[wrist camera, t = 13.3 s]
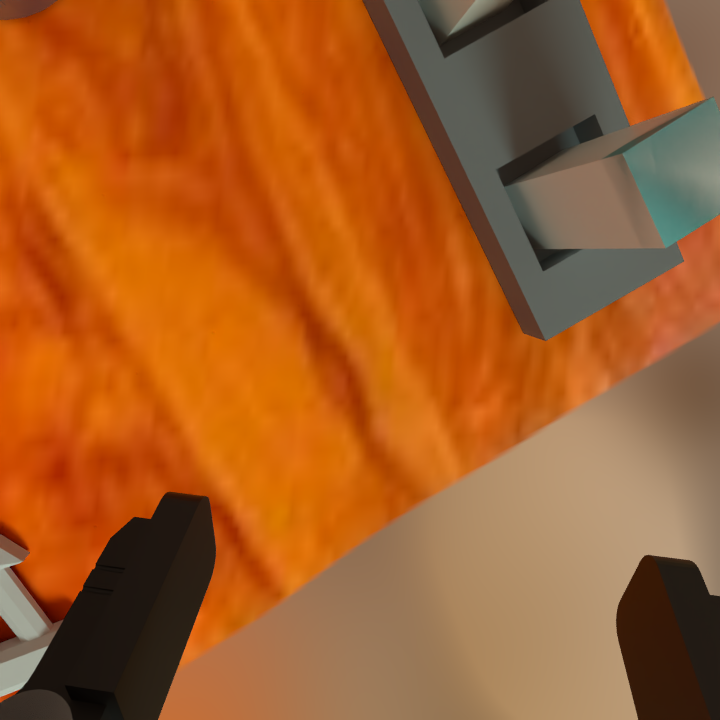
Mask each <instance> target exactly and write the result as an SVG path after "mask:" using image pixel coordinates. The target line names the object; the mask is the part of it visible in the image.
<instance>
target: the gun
mask: <svg viewBox="0 0 720 720" xmlns="http://www.w3.org/2000/svg"><path fill="white" fill-rule="evenodd" d="M29 553H30V552H28V551H27V550H25V549H24V548H22V547H20V546H19V545H17V544H16V543H14V542H12V541H11V540H9V539H8V538H6V537H4V536H3V535H1V534H0V616H1V617H2V618H3V619H4V621H5V622H6V623H7V624H8V625H9V627H10V628H11V629H12V630H13V632H14V633H15V634H16V635H17V637H15V638H12V639H9V640H7V641H4V642H1V643H0V697H1V696H3V695H6V694H8V693H11V692H14V691H16V690H19V689H21V688H22V687H23V686H24V685H25V683H26V682H27V681H28V680H29V678H30V677H31V675H32V674H33V672H34V670H35V669H36V667H37V665H38V663H39V662H40V660H41V658H42V656H43V655H44V653H45V651H46V650H47V648H48V646H49V644H50V643H51V641H52V639H53V637H54V636H55V634H56V632H57V630H58V629H59V627H60V625H61V623H62V622H63V620H64V619H63V620H61V621H58V622H55V623H53V624H52V623H51V621H50V620H49V619H48V617H47V616H46V615H45V613H44V612H43V611H42V609H41V608H40V607H39V605H38V604H37V603H36V601H35V600H34V599H33V597H32V596H31V595H30V593H29V592H28V591H27V589H26V588H25V587H24V585H23V584H22V583H21V581H20V580H19V579H18V577H17V576H16V575H15V573H14V572H13V571H12V569H11V568H10V566H12V565H15V564H18V563H21V562H23V561H24V560H25V558H26V557H27V556H28V554H29Z"/></svg>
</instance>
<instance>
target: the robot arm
mask: <svg viewBox="0 0 720 720" xmlns="http://www.w3.org/2000/svg"><path fill="white" fill-rule="evenodd" d="M56 1H57V0H0V20H9V19H15V18H22V17H27V16H30V15H32V14H35V13H37V12H40V11H42V10H45V9H46V8H47V7H49V6H50V5H52V4H53V3H55V2H56ZM215 557H216V544H215V536H214V529H213V522H212V515H211V507H210V501H209V498H208V497H206V496H199V495H191V494H183V493H176V492H167V493H166V494H165V495H164V496H163V497H162V499H161V501H160V503H159V505H158V506H157V508H156V510H155V512H154V514H153V516H152V518H151V519H146V518H139V517H134V518H133V519H131V520H130V521H129V522H128V523H127V524H126V525H125V526H124V527H122V528H121V529H120V530H119V531H118V532H117V533H116V534H115V535H113V536H112V537H111V538H110V540H109V542H108V543H107V545H106V547H105V549H104V550H103V552H102V554H101V556H100V557H99V559H98V561H97V563H96V567H95V569H93V570H92V571H91V573H90V575H89V576H88V578H87V580H86V582H85V583H84V585H83V590H82V591H80V592H79V594H78V596H77V597H76V599H75V601H74V603H73V604H72V606H71V608H70V610H69V611H68V613H67V615H66V616H65V618H64V620H63V622H62V623H61V625H60V627H59V629H58V630H57V632H56V634H55V636H54V637H53V639H52V641H51V643H50V644H49V646H48V648H47V650H46V651H45V653H44V655H43V656H42V658H41V660H40V662H39V663H38V665H37V667H36V669H35V670H34V672H33V674H32V675H31V677H30V678H29V680H28V681H27V682H26V683H25V685H24V686H23V687H22V688H21V689H20V690H19V691H18V692H17V693H16V694H15V695H13V696H11V697H10V698H8V699H6V700H4V701H2V702H1V703H0V720H158V718H159V715H160V713H161V710H162V707H163V704H164V702H165V700H166V697H167V694H168V691H169V689H170V686H171V684H172V681H173V678H174V676H175V673H176V670H177V668H178V665H179V662H180V660H181V657H182V654H183V652H184V649H185V646H186V644H187V641H188V638H189V636H190V633H191V630H192V628H193V625H194V623H195V620H196V617H197V615H198V612H199V609H200V607H201V604H202V601H203V599H204V596H205V593H206V591H207V588H208V585H209V583H210V580H211V577H212V573H213V569H214V564H215ZM616 627H617V636H618V641H619V645H620V648H621V653H622V656H623V660H624V664H625V668H626V672H627V676H628V680H629V684H630V688H631V692H632V696H633V700H634V704H635V708H636V712H637V716H638V720H720V596H714V595H710V594H709V592H708V590H707V587H706V585H705V582H704V580H703V577H702V575H701V573H700V571H699V568H698V567H697V565H696V564H695V563H694V562H692V561H690V560H683V559H675V558H667V557H659V556H652V555H646V556H644V557H643V558H642V560H641V561H640V563H639V565H638V567H637V569H636V571H635V573H634V575H633V577H632V579H631V581H630V582H629V584H628V586H627V588H626V590H625V592H624V594H623V596H622V598H621V600H620V602H619V605H618V609H617V618H616Z"/></svg>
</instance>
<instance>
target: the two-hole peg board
mask: <svg viewBox="0 0 720 720" xmlns="http://www.w3.org/2000/svg"><path fill="white" fill-rule="evenodd" d="M363 2H364V4H365V6H366V8H367V10H368V12H369V15H370V17H371V19H372V21H373V23H374V25H375V27H376V29H377V31H378V33H379V35H380V37H381V39H382V41H383V43H384V46H385V48H386V50H387V52H388V54H389V56H390V58H391V60H392V62H393V64H394V66H395V68H396V70H397V72H398V74H399V77H400V79H401V81H402V83H403V85H404V87H405V89H406V91H407V93H408V95H409V97H410V99H411V101H412V103H413V106H414V108H415V110H416V112H417V114H418V116H419V118H420V120H421V122H422V124H423V126H424V128H425V130H426V132H427V134H428V137H429V139H430V141H431V143H432V145H433V147H434V149H435V151H436V153H437V155H438V157H439V159H440V161H441V163H442V165H443V168H444V170H445V172H446V174H447V176H448V178H449V180H450V182H451V184H452V186H453V188H454V190H455V192H456V194H457V196H458V199H459V201H460V203H461V205H462V207H463V209H464V211H465V213H466V215H467V217H468V219H469V221H470V223H471V225H472V227H473V230H474V232H475V234H476V236H477V238H478V240H479V242H480V244H481V246H482V248H483V250H484V252H485V254H486V256H487V258H488V261H489V263H490V265H491V267H492V269H493V271H494V273H495V275H496V277H497V279H498V281H499V283H500V285H501V287H502V289H503V292H504V294H505V296H506V298H507V300H508V302H509V304H510V306H511V308H512V310H513V312H514V314H515V316H516V318H517V320H518V323H519V325H520V327H521V329H522V331H523V333H524V334H527V335H530V336H533V337H536V338H539V339H542V340H545V341H546V340H548V339H550V338H552V337H553V336H555V335H557V334H559V333H560V332H562V331H564V330H565V329H567V328H569V327H571V326H572V325H574V324H576V323H578V322H579V321H581V320H583V319H585V318H586V317H588V316H590V315H592V314H593V313H595V312H597V311H598V310H600V309H602V308H604V307H605V306H607V305H609V304H611V303H612V302H614V301H616V300H618V299H619V298H621V297H623V296H625V295H626V294H628V293H630V292H631V291H633V290H635V289H637V288H638V287H640V286H642V285H644V284H645V283H647V282H649V281H651V280H652V279H654V278H656V277H657V276H659V275H661V274H663V273H664V272H666V271H668V270H670V269H671V268H673V267H675V266H677V265H678V264H680V263H682V262H684V260H683V257H682V255H681V252H680V250H679V247H678V245H677V242H675V243H673V244H672V245H670V246H669V247H667V248H633V249H533V247H532V245H531V243H530V241H529V239H528V237H527V235H526V233H525V231H524V229H523V227H522V225H521V223H520V221H519V219H518V216H517V214H516V212H515V210H514V208H513V206H512V203H511V201H510V199H509V197H508V195H507V193H506V190H505V188H504V186H505V185H507V184H509V183H510V182H512V181H513V180H515V179H517V178H518V177H520V176H521V175H523V174H525V173H526V172H528V171H529V170H531V169H533V168H534V167H536V166H537V165H539V164H541V163H542V162H544V161H545V160H547V159H549V158H550V157H552V156H554V155H555V154H557V153H558V152H560V151H562V150H564V149H567V148H570V147H573V146H576V145H579V144H581V143H584V142H587V141H590V140H593V139H595V138H598V137H601V136H604V135H607V134H610V133H612V132H615V131H618V130H621V129H624V128H627V127H629V126H630V125H629V122H628V120H627V117H626V115H625V112H624V110H623V107H622V105H621V102H620V100H619V97H618V95H617V93H616V90H615V88H614V85H613V83H612V80H611V78H610V75H609V73H608V70H607V68H606V65H605V63H604V60H603V58H602V55H601V53H600V50H599V48H598V45H597V43H596V40H595V38H594V35H593V33H592V30H591V28H590V25H589V23H588V20H587V18H586V15H585V13H584V10H583V8H582V5H581V3H580V0H363Z"/></svg>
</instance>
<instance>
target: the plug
mask: <svg viewBox="0 0 720 720" xmlns="http://www.w3.org/2000/svg"><path fill="white" fill-rule="evenodd" d="M504 188H505V190H506V193H507V195H508V197H509V199H510V201H511V203H512V206H513V208H514V210H515V212H516V214H517V216H518V219H519V221H520V223H521V225H522V227H523V229H524V231H525V233H526V235H527V237H528V239H529V241H530V243H531V245H532V247H533V249H633V248H667V247H669V246H670V245H672V244H673V243H675V242H677V241H678V240H680V239H681V238H683V237H684V236H686V235H688V234H689V233H691V232H692V231H694V230H696V229H697V228H699V227H700V226H702V225H704V224H705V223H707V222H708V221H710V220H712V219H713V218H715V217H716V216H718V215H719V214H720V111H719V109H718V107H717V104H716V102H715V99H714V97H712V98H709V99H706V100H703V101H700V102H697V103H694V104H691V105H689V106H686V107H683V108H680V109H677V110H675V111H672V112H669V113H666V114H663V115H660V116H658V117H655V118H652V119H649V120H646V121H643V122H641V123H638V124H635V125H632V126H629V127H627V128H624V129H621V130H618V131H615V132H612V133H610V134H607V135H604V136H601V137H598V138H595V139H593V140H590V141H587V142H584V143H581V144H579V145H576V146H573V147H570V148H567V149H564V150H562V151H560V152H558V153H557V154H555V155H554V156H552V157H550V158H549V159H547V160H545V161H544V162H542V163H541V164H539V165H537V166H536V167H534V168H533V169H531V170H529V171H528V172H526V173H525V174H523V175H521V176H520V177H518V178H517V179H515V180H513V181H512V182H510V183H509V184H507V185H505V186H504Z"/></svg>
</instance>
